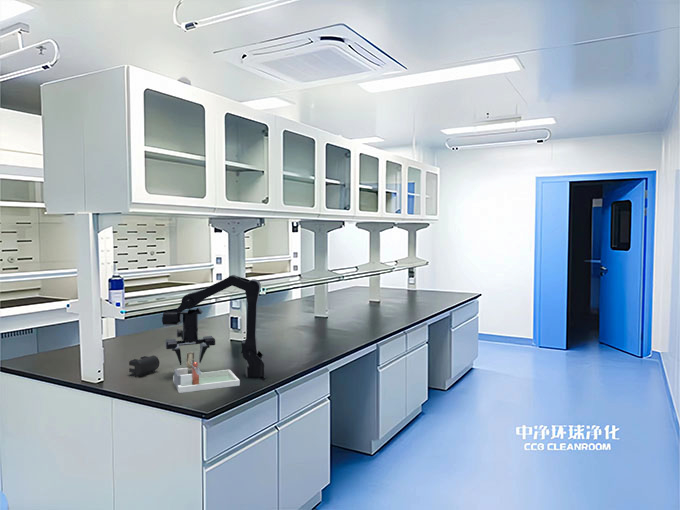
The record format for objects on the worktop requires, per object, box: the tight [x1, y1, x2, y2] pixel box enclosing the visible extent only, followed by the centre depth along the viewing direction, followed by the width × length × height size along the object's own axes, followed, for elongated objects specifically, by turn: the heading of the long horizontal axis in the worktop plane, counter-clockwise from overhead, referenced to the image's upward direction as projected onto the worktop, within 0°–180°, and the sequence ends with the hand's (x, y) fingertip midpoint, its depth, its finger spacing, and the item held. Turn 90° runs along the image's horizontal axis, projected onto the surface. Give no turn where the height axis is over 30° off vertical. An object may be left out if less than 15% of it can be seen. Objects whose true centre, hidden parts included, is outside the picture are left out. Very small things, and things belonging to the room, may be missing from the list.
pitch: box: [172, 367, 241, 394], centre depth 186 cm, size 22×16×6 cm
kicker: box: [185, 351, 202, 385], centre depth 186 cm, size 3×22×9 cm, turn 26°
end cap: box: [128, 355, 160, 378], centre depth 200 cm, size 10×7×7 cm
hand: (190, 363), depth 194 cm, fingers open, 7 cm apart
